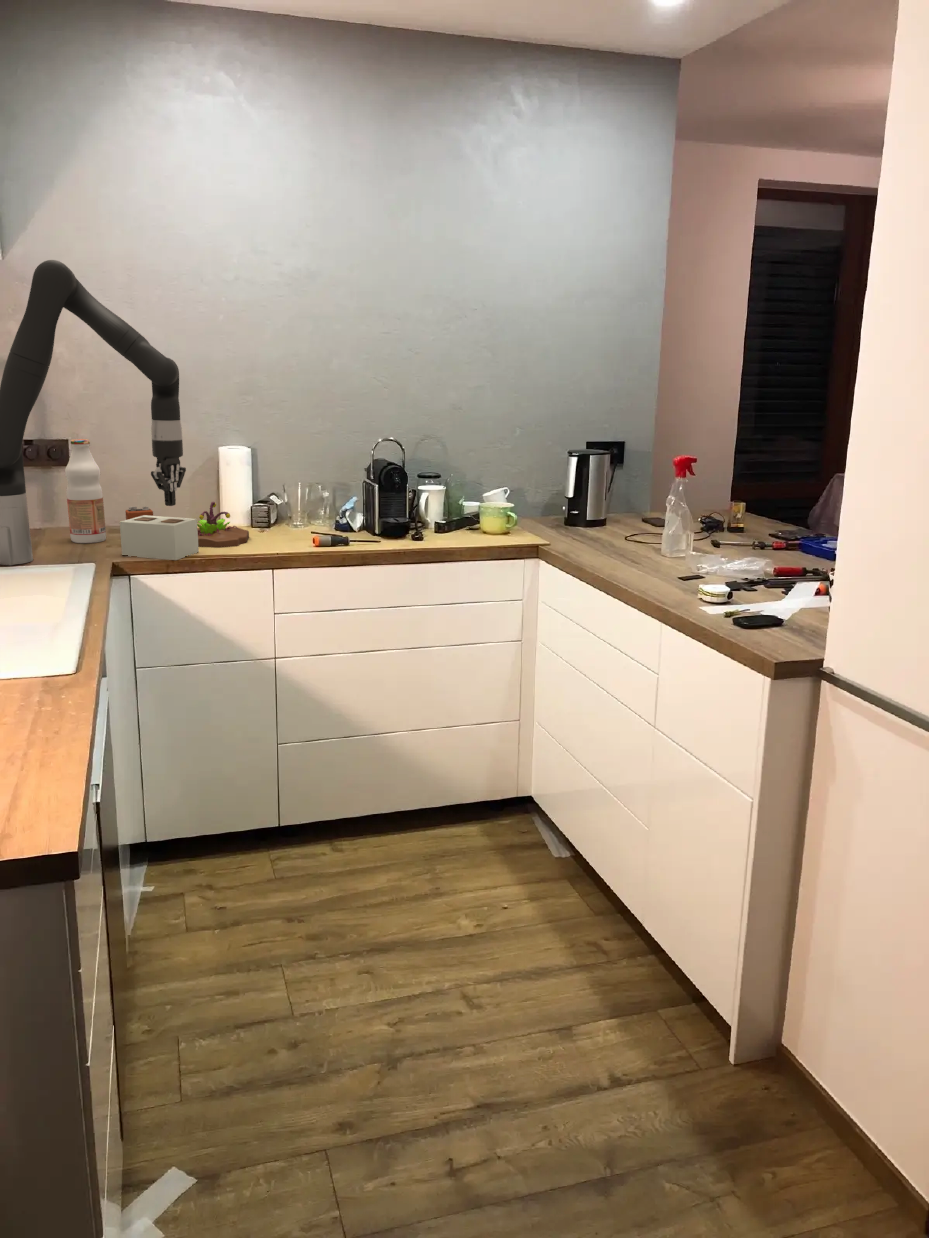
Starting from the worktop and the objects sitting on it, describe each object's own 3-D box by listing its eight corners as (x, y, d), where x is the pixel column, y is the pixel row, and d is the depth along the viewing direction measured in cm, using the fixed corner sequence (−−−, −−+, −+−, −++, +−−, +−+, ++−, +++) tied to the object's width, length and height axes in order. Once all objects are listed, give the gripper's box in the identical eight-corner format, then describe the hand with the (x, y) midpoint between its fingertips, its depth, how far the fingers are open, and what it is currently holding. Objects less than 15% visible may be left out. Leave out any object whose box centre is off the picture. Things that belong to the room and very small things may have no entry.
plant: (257, 536, 290) (256, 498, 287) (238, 549, 271) (236, 509, 268) (190, 534, 291) (188, 496, 288) (167, 547, 272) (164, 507, 269)
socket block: (175, 560, 254) (173, 525, 252) (122, 555, 259) (119, 521, 256) (198, 552, 265) (196, 518, 262) (146, 548, 269) (144, 515, 267)
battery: (127, 542, 277) (124, 506, 274) (152, 540, 280) (149, 505, 277) (130, 544, 273) (127, 508, 271) (155, 542, 276) (153, 507, 274)
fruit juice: (77, 545, 272) (68, 442, 264) (66, 539, 279) (56, 439, 271) (111, 541, 277) (103, 440, 270) (99, 536, 284) (91, 437, 277)
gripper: (165, 440, 245) (168, 510, 250) (194, 436, 258) (197, 503, 262) (138, 439, 247) (142, 508, 252) (168, 435, 260) (172, 501, 264)
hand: (170, 505), depth 257 cm, fingers closed
